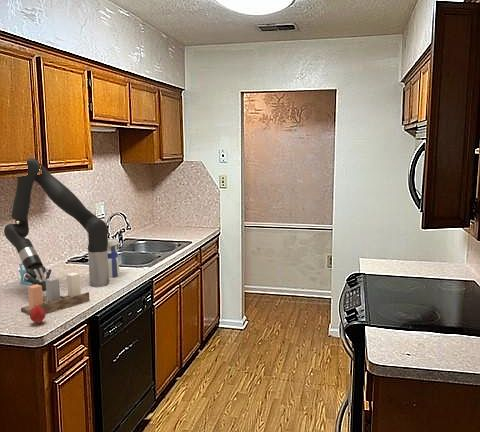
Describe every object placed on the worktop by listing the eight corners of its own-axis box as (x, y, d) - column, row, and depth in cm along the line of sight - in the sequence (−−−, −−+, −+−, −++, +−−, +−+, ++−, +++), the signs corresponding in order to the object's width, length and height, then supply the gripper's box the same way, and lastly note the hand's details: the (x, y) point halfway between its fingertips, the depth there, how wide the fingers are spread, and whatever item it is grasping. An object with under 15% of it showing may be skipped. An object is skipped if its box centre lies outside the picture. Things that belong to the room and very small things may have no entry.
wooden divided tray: (76, 296, 229) (75, 287, 228) (89, 301, 222) (89, 292, 221) (21, 311, 209) (20, 302, 209) (33, 317, 202) (33, 307, 202)
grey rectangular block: (55, 298, 219) (54, 277, 218) (60, 300, 217) (58, 278, 215) (47, 301, 216) (45, 279, 215) (51, 303, 214) (50, 280, 212)
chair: (26, 280, 254) (24, 257, 252) (41, 281, 252) (39, 258, 250) (17, 284, 247) (15, 261, 245) (32, 285, 245) (30, 262, 243)
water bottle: (108, 279, 256) (105, 231, 252) (101, 275, 262) (99, 229, 258) (123, 276, 260) (121, 229, 256) (116, 272, 267) (114, 227, 263)
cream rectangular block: (75, 293, 227) (74, 272, 225) (80, 295, 224) (79, 274, 223) (67, 295, 224) (66, 274, 222) (72, 297, 221) (71, 275, 220)
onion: (27, 325, 194) (25, 305, 193) (37, 320, 199) (36, 301, 198) (38, 327, 192) (37, 307, 190) (49, 322, 197) (47, 302, 196)
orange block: (38, 306, 209) (37, 284, 208) (43, 309, 207) (41, 286, 205) (29, 309, 206) (27, 286, 205) (34, 311, 204) (32, 288, 202)
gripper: (18, 257, 219) (33, 289, 213) (46, 251, 229) (62, 282, 223) (13, 266, 223) (28, 298, 217) (41, 261, 233) (56, 291, 227)
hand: (45, 290), depth 220 cm, fingers closed
